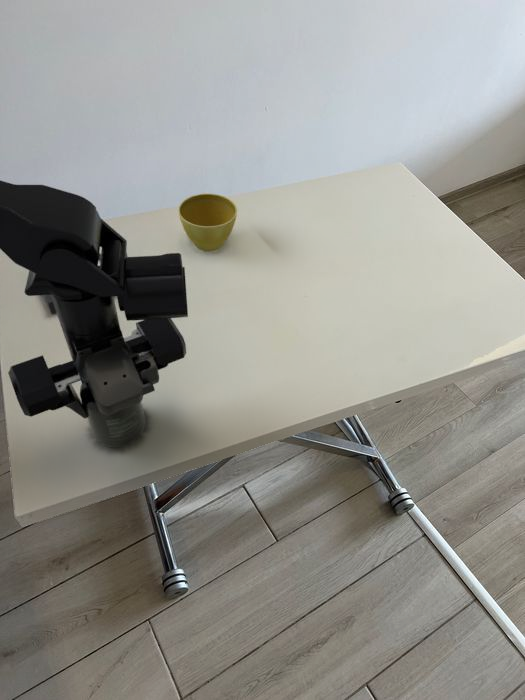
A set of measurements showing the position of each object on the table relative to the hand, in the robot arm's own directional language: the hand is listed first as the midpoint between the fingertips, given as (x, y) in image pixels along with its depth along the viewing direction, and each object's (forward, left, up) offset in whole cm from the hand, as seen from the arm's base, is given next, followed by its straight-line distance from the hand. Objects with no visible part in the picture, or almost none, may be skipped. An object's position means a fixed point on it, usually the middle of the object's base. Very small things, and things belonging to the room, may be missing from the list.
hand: (112, 404), depth 66 cm
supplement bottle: (0, 0, -5) cm, 5 cm away
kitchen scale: (+4, +29, -5) cm, 30 cm away
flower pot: (+28, +30, -5) cm, 41 cm away
